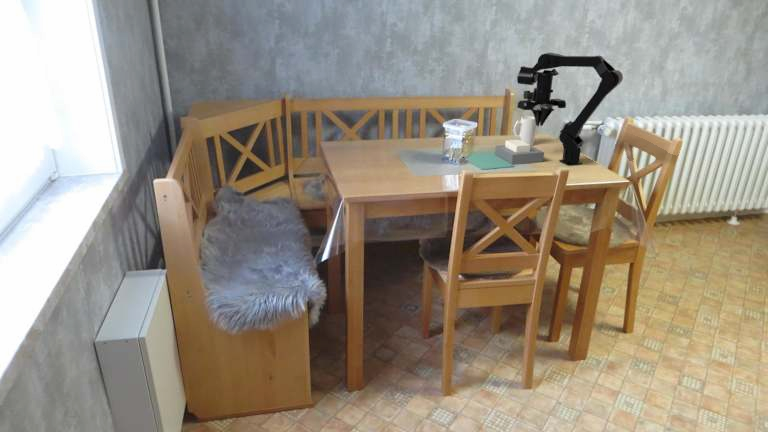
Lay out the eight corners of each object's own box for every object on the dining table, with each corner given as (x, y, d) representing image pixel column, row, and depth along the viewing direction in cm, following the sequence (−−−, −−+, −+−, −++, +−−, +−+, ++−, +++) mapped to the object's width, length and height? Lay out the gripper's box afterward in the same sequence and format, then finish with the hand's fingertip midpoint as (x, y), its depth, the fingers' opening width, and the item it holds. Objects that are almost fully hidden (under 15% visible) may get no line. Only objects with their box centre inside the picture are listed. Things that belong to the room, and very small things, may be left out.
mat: (514, 167, 211) (514, 166, 211) (481, 169, 207) (481, 168, 207) (490, 153, 229) (490, 152, 229) (459, 155, 225) (459, 154, 225)
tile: (529, 151, 217) (530, 145, 216) (516, 152, 215) (516, 146, 214) (518, 145, 225) (518, 139, 224) (505, 146, 223) (505, 140, 222)
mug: (529, 142, 246) (532, 115, 242) (536, 145, 240) (539, 118, 236) (508, 143, 244) (511, 116, 240) (515, 147, 238) (518, 119, 234)
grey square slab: (542, 161, 218) (544, 152, 216) (511, 164, 214) (512, 154, 212) (524, 152, 230) (525, 143, 229) (494, 155, 226) (495, 145, 225)
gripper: (553, 82, 223) (548, 120, 229) (512, 84, 218) (508, 122, 224) (569, 86, 213) (563, 126, 219) (527, 88, 208) (522, 128, 214)
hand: (539, 125), depth 219 cm, fingers closed
